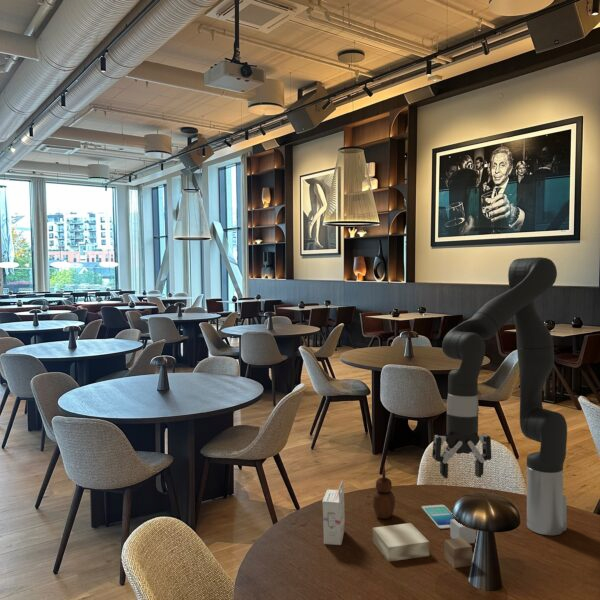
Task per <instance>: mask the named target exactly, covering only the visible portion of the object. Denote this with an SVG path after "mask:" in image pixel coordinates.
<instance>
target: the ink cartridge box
mask: <svg viewBox="0 0 600 600" xmlns="http://www.w3.org/2000/svg"><path fill="white" fill-rule="evenodd" d="M344 488H345V487H344V481H343V479H342V480H341V482H340V485H339V487H338V489H326V492H325V494H324V497H323V499H322V501H321V502H322V517H323V518H322V521H323V523H322V525H323V531H322V532H323V545H333V546H341V545H342V543H343V538H344V534H345V530H346V529H345V527H346V526H345V520H346V519H345V489H344Z"/></svg>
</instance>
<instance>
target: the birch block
mask: <svg viewBox="0 0 600 600" xmlns="http://www.w3.org/2000/svg"><path fill="white" fill-rule="evenodd" d="M372 542H373V543H374V544H375V546H376V548H378V550H379V551H380V552H381V554H382V555H383V557H384V558H385V559H386V560H387V562H395V561H401V560H408V559H409V560H410V559H418V558H424V557H429V556H430V541H429V539H427V538H426V537H425V536H424V535H423V534H422V532H420V530H418V528H417V527H415V526H414V525H413V523H412V522H408V523H399V524H393V525H392V524H391V525H385V526H384V525H383V526H376V527H372Z"/></svg>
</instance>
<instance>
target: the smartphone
mask: <svg viewBox="0 0 600 600" xmlns="http://www.w3.org/2000/svg"><path fill="white" fill-rule="evenodd" d="M421 509H422V511H423V512H424V513H425V514H426V515H427V517H428V518H429V519H430V521H431V522H432V523H433V524H434V525H435V527H436V528H437V529H438V530H450V520H451V519H454V518H453V515H454V514H453V513H452V511H451V510H449V508H448V507H447V506H446V505H444V504H434V505H433V504H432V505H422V506H421ZM452 514H453V515H452Z"/></svg>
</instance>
